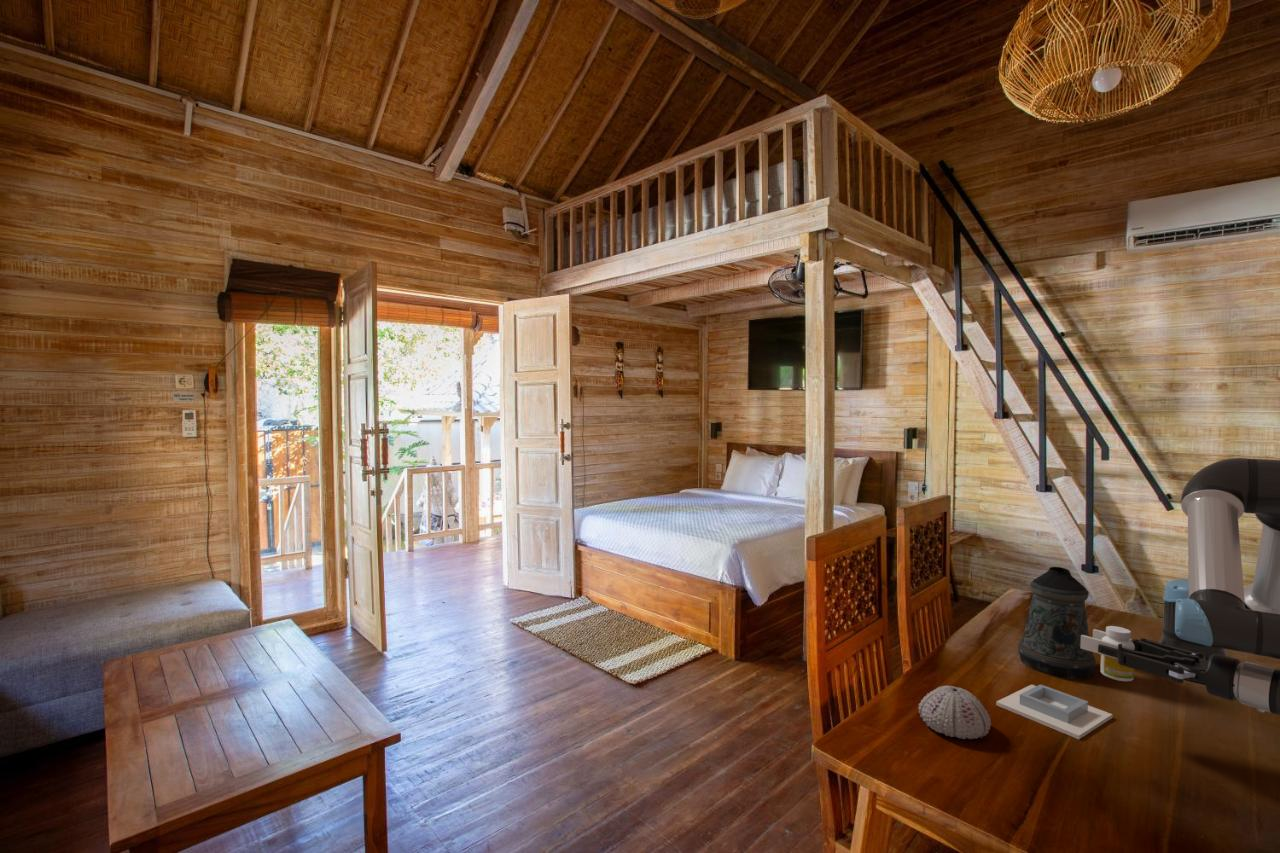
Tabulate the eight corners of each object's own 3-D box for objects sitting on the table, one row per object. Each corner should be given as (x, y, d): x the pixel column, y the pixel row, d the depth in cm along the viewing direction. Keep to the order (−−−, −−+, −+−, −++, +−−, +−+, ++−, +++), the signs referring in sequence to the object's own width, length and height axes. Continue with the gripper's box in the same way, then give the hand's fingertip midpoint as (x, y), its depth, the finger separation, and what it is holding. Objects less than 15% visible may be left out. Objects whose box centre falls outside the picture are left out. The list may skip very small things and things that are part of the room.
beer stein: (1036, 677, 148) (1039, 577, 147) (1001, 646, 167) (1004, 557, 166) (1110, 682, 145) (1114, 581, 144) (1066, 650, 164) (1070, 560, 163)
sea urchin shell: (997, 751, 116) (998, 710, 115) (920, 737, 120) (921, 698, 120) (984, 717, 128) (985, 681, 128) (914, 706, 133) (915, 670, 132)
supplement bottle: (1140, 683, 119) (1142, 635, 119) (1109, 680, 120) (1111, 633, 120) (1123, 671, 124) (1125, 625, 124) (1094, 669, 125) (1096, 623, 125)
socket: (1031, 687, 142) (1031, 675, 142) (1112, 717, 128) (1112, 704, 128) (996, 705, 133) (996, 691, 133) (1078, 739, 120) (1079, 724, 120)
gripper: (1223, 716, 102) (1067, 666, 121) (1252, 688, 112) (1104, 646, 132) (1225, 673, 102) (1069, 629, 121) (1254, 649, 112) (1105, 613, 131)
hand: (1087, 638), depth 126 cm, fingers closed on supplement bottle, 5 cm apart
